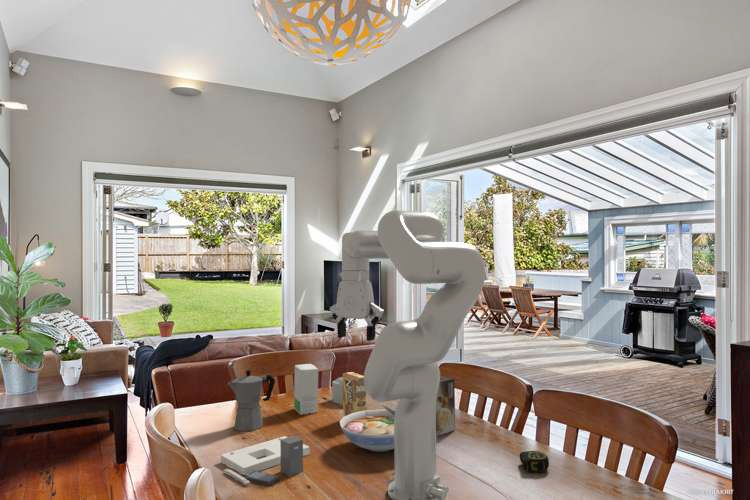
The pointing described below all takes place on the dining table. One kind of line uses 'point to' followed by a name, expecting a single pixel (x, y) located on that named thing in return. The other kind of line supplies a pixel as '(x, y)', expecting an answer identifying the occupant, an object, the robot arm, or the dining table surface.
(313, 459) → the dining table surface
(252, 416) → the coffeepot
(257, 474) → the phone
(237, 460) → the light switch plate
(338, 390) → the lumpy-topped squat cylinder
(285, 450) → the block
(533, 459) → the tape measure
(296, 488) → the dining table surface
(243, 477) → the grey thin stick
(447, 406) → the coffee box
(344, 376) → the candy box
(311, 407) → the skincare box
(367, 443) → the ramen bowl
